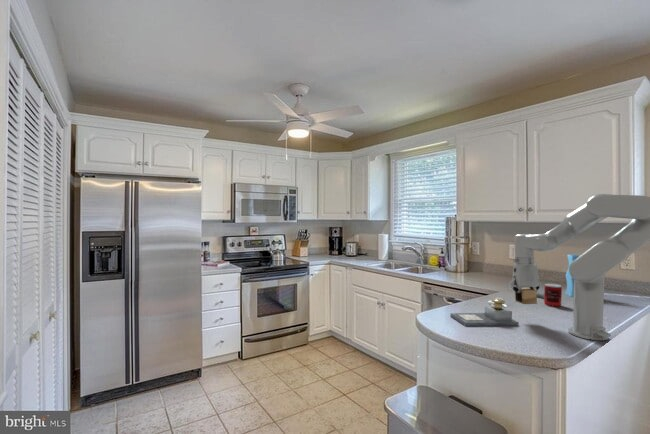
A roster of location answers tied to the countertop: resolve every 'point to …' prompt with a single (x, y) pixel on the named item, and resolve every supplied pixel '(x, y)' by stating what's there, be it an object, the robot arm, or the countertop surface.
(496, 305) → the gold lobed piece
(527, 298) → the oak block
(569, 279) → the vase
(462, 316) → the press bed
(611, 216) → the robot arm
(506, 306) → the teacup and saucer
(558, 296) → the canned food
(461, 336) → the countertop surface
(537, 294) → the kitchen whisk
